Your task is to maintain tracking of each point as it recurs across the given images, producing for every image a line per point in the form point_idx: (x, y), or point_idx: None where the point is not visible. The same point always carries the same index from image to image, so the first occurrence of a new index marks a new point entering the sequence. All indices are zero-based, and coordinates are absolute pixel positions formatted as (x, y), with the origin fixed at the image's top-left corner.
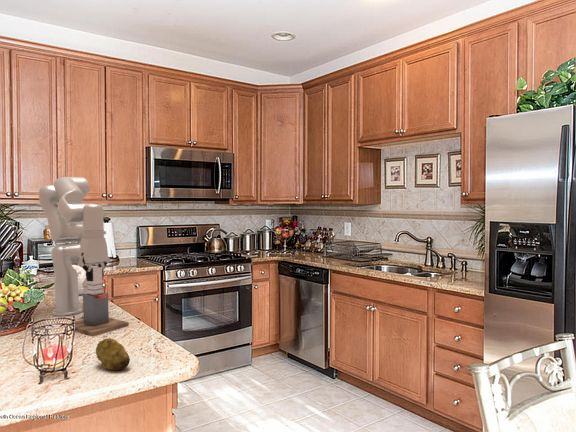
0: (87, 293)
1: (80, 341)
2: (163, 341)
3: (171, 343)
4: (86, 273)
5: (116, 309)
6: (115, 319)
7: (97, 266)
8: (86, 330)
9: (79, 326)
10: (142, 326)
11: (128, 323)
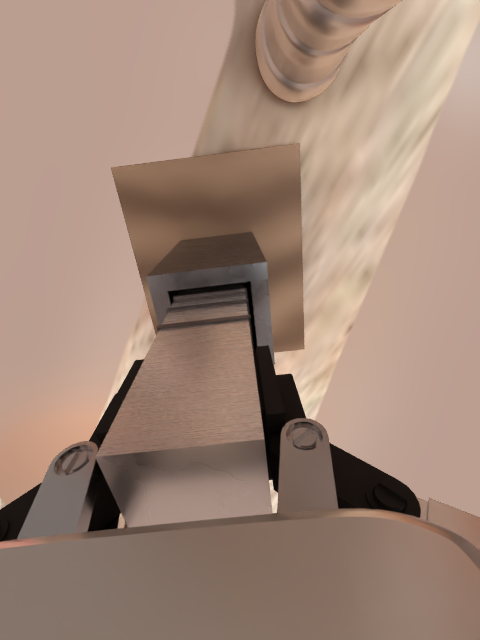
0: (288, 2)
1: (123, 374)
2: (272, 496)
3: (274, 512)
4: (97, 442)
5: (472, 3)
6: (299, 278)
7: (263, 468)
8: (157, 331)
9: (155, 262)
10: (323, 376)
11: (302, 346)
